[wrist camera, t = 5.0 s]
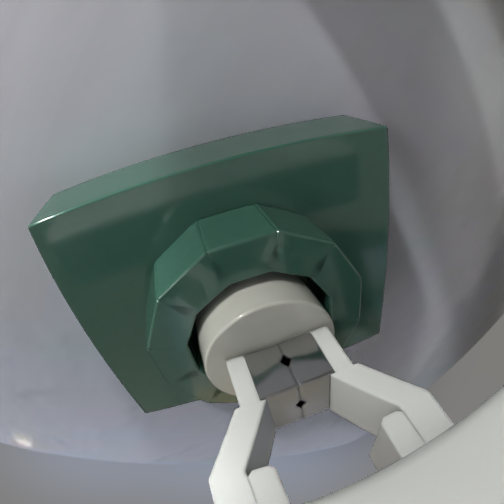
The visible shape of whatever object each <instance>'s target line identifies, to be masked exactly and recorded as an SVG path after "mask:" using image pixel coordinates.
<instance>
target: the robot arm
mask: <svg viewBox="0 0 504 504" xmlns="http://www.w3.org/2000/svg"><path fill="white" fill-rule="evenodd" d="M226 364H227V368H228V371H229V374H230V377H231V381H232V384H233V387H234V390H235V393H236V396H237V400H238V403H239V406H240V407H239V408H237V409H235V410H234V413H233V416H232V418H231V421H230V424H229V427H228V429H227V432H226V435H225V437H224V440H223V443H222V446H221V448H220V451H219V454H218V456H217V459H216V461H215V464H214V467H213V469H212V472H211V474H210V477H209V480H208V481H209V485H210V489H211V493H212V497H213V501H214V504H291V503H290V501H289V499H288V496H287V494H286V491H285V489H284V487H283V484H282V482H281V480H280V477H279V475H278V472H277V470H276V468H275V467H272V466H269V465H268V464H269V459H270V455H271V451H272V447H273V442H274V438H275V433H276V429H278V428H281V427H283V426H286V425H289V424H291V423H294V422H296V421H299V420H301V419H302V418H303V419H304V418H307V417H309V416H312V415H315V414H317V413H320V412H323V411H325V410H328V409H330V410H331V411H333V412H334V413H336V414H338V415H339V416H341V417H343V418H344V419H346V420H348V421H349V422H351V423H353V424H355V425H356V426H358V427H360V428H362V429H363V430H365V431H367V432H369V433H371V434H372V435H374V436H376V439H375V441H374V444H373V447H372V450H371V453H370V455H369V457H370V458H371V460H372V462H373V464H374V466H375V467H376V469H377V472H376V473H374V474H371V475H370V476H367V477H365V478H363V479H361V480H359V481H357V482H355V483H353V484H351V485H348V486H346V487H344V488H341V489H339V490H337V491H335V492H332V493H330V494H327V495H325V496H322V497H320V498H317V499H315V500H312V501H309V502H307V503H304V504H504V385H503V386H502V387H501V388H500V389H499V390H497V391H496V392H495V393H494V394H493V395H492V396H490V397H489V398H488V399H487V400H486V401H484V402H483V403H482V404H481V405H480V406H478V407H477V408H476V409H474V410H473V411H472V412H471V413H469V414H468V415H467V416H465V417H464V418H463V419H461V420H460V421H458V422H457V423H456V424H454V423H453V422H452V421H451V419H450V418H449V417H448V415H447V414H446V413H445V412H444V410H443V409H442V408H441V406H440V405H439V404H438V402H437V401H436V400H435V399H434V397H433V396H432V395H431V393H430V392H429V391H428V390H426V389H423V388H420V387H418V386H415V385H412V384H410V383H407V382H405V381H402V380H400V379H397V378H395V377H392V376H390V375H387V374H385V373H382V372H380V371H377V370H375V369H372V368H370V367H367V366H365V365H362V364H360V363H356V364H354V365H353V363H352V362H351V360H350V359H349V357H348V356H347V354H346V353H345V351H344V350H343V348H342V347H341V346H340V344H339V343H338V341H337V340H336V338H335V337H334V335H333V334H332V333H331V331H330V330H329V328H328V327H326V326H324V327H321V328H319V329H316V330H314V331H311V332H309V333H305V334H302V335H300V336H297V337H295V338H292V339H289V340H287V341H284V342H281V343H278V344H277V345H274V346H271V347H268V348H265V349H262V350H258V351H255V352H252V353H248V354H245V355H244V356H243V355H242V356H239V357H236V358H232V359H229V360H226Z"/></svg>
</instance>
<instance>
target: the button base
mask: <svg viewBox="0 0 504 504" xmlns="http://www.w3.org/2000/svg"><path fill="white" fill-rule="evenodd" d="M388 227H389V146H388V128H387V126H384V125H381V124H377V123H373V122H369V121H366V120H362V119H358V118H353V117H349V116H345V115H340V116H333V117H327V118H320V119H315V120H309V121H303V122H298V123H292V124H287V125H282V126H277V127H272V128H267V129H263V130H258V131H253V132H249V133H245V134H240V135H236V136H232V137H228V138H224V139H220V140H216V141H212V142H208V143H204V144H201V145H197V146H193V147H190V148H186V149H183V150H179V151H176V152H172V153H169V154H166V155H162V156H159V157H156V158H153V159H150V160H146V161H143V162H140V163H137V164H134V165H131V166H128V167H125V168H122V169H119V170H117V171H114V172H111V173H108V174H105V175H103V176H100V177H97V178H94V179H92V180H89V181H86V182H84V183H81V184H79V185H76V186H74V187H71V188H69V189H66V190H64V191H61V192H59V193H56V194H54V195H53V196H52V197H51V198H50V199H49V201H48V202H47V203H46V204H45V205H44V207H43V208H42V209H41V210H40V212H39V213H38V214H37V216H36V217H35V218H34V219H33V221H32V222H31V223H30V225H29V226H28V228H29V231H30V233H31V235H32V237H33V239H34V242H35V244H36V246H37V248H38V250H39V252H40V254H41V256H42V258H43V260H44V262H45V264H46V265H47V267H48V269H49V271H50V273H51V275H52V277H53V279H54V280H55V282H56V284H57V286H58V288H59V289H60V291H61V293H62V295H63V296H64V298H65V300H66V301H67V303H68V305H69V307H70V308H71V310H72V312H73V313H74V315H75V316H76V318H77V320H78V321H79V323H80V324H81V326H82V327H83V329H84V331H85V332H86V334H87V335H88V337H89V338H90V340H91V341H92V343H93V344H94V346H95V347H96V349H97V350H98V351H99V353H100V354H101V356H102V357H103V359H104V360H105V361H106V363H107V364H108V366H109V367H110V368H111V370H112V371H113V372H114V374H115V375H116V376H117V378H118V379H119V380H120V382H121V383H122V384H123V386H124V387H125V388H126V390H127V391H128V392H129V393H130V395H131V396H132V397H133V398H134V400H135V401H136V402H137V403H138V404H139V406H140V407H141V408H142V409H143V411H144V412H145V413H149V412H153V411H158V410H162V409H166V408H170V407H174V406H178V405H182V404H185V403H189V402H193V401H197V400H200V399H201V400H203V401H206V402H209V403H238V400H237V396H234V395H230V394H227V393H225V392H223V391H221V390H219V389H218V388H217V387H215V386H214V385H213V384H212V383H211V382H210V380H209V379H208V377H207V375H206V373H205V370H204V365H203V361H202V357H201V353H200V348H199V344H198V340H197V335H196V331H195V325H194V322H195V319H196V315H197V314H198V313H199V312H200V311H201V310H202V309H203V308H205V307H206V306H207V305H208V304H209V303H210V302H211V301H212V300H213V299H215V298H216V297H217V296H218V295H219V294H220V293H221V292H222V291H223V290H225V289H226V288H227V287H228V286H229V285H231V284H235V283H238V282H241V281H244V280H247V279H250V278H253V277H257V276H260V275H263V274H266V273H269V272H272V271H273V272H279V273H286V274H292V275H299V276H301V277H302V278H303V279H304V281H305V282H306V283H307V285H308V286H309V288H310V289H311V290H312V292H313V293H314V294H315V296H316V297H317V298H318V300H319V301H320V302H321V304H322V305H323V307H324V308H325V309H326V311H327V312H328V313H329V315H330V317H331V318H332V321H333V324H334V331H335V334H334V337H335V338H336V340H337V341H338V343H339V344H340V346H341V347H342V348H343V349H344V348H347V347H349V346H351V345H354V344H356V343H358V342H360V341H363V340H365V339H367V338H369V337H371V336H374V335H376V334H378V333H379V331H380V323H381V315H382V307H383V297H384V287H385V276H386V263H387V248H388Z"/></svg>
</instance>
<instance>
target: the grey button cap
mask: <svg viewBox="0 0 504 504" xmlns="http://www.w3.org/2000/svg"><path fill="white" fill-rule="evenodd" d="M194 325H195V331H196V335H197V340H198V344H199V348H200V353H201V357H202V361H203V365H204V370H205V373H206V375H207V377H208V379H209V380H210V382H211V383H212V384H213V385H214V386H215V387H217V388H218V389H219V390H221V391H223V392H225V393H227V394H230V395H234V396H236V393H235V390H234V387H233V384H232V381H231V377H230V374H229V371H228V368H227V364H226V360H229V359H232V358H236V357H239V356H242V355H243V356H244V355H245V354H248V353H252V352H255V351H258V350H262V349H265V348H268V347H271V346H274V345H277V344H278V343H281V342H284V341H287V340H289V339H292V338H295V337H297V336H300V335H302V334H305V333H309V332H311V331H314V330H316V329H319V328H321V327H324V326H326V327H328V328H329V330H330V331H331V333H332V334H333V335H334V334H335V331H334V324H333V321H332V318H331V317H330V315H329V313H328V312H327V311H326V309H325V308H324V307H323V305H322V304H321V302H320V301H319V300H318V298H317V297H316V296H315V294H314V293H313V292H312V290H311V289H310V288H309V286H308V285H307V283H306V282H305V281H304V279H303V278H302V277H301V276H299V275H292V274H286V273H279V272H273V271H272V272H269V273H266V274H263V275H260V276H257V277H253V278H250V279H247V280H244V281H241V282H238V283H235V284H231V285H229V286H228V287H227V288H226V289H225V290H223V291H222V292H221V293H220V294H219V295H218V296H217V297H216V298H215V299H213V300H212V301H211V302H210V303H209V304H208V305H207V306H206V307H205V308H203V309H202V310H201V311H200V312H199V313H198V314H197V315H196V319H195V322H194Z"/></svg>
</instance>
